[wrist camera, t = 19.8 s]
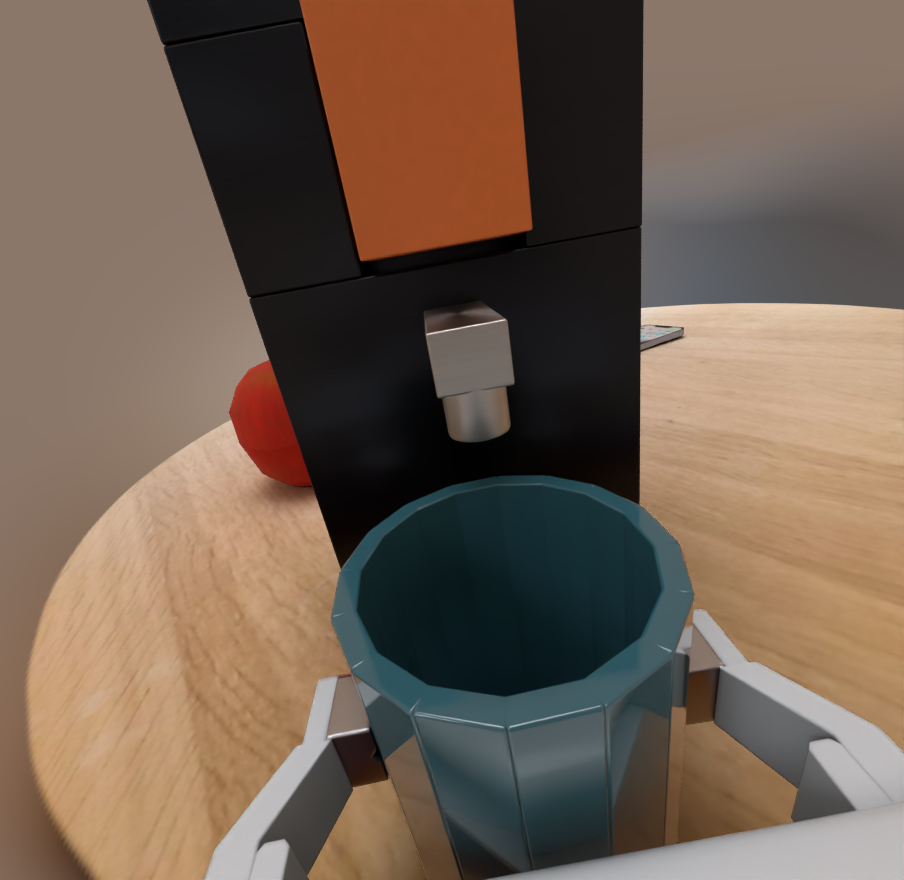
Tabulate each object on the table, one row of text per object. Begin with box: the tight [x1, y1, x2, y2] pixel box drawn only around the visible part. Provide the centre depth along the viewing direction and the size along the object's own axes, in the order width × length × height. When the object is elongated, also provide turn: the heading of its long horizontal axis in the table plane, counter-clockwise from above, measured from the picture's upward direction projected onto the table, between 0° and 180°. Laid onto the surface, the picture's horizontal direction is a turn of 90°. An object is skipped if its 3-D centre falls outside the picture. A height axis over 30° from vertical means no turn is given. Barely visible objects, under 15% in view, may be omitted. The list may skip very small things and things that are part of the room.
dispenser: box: [147, 0, 643, 569], centre depth 17 cm, size 14×12×24 cm
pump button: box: [299, 0, 532, 261], centre depth 11 cm, size 3×4×5 cm
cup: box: [331, 475, 694, 880], centre depth 11 cm, size 7×7×9 cm
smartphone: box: [641, 325, 684, 350], centre depth 61 cm, size 7×1×15 cm
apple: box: [229, 360, 312, 487], centre depth 37 cm, size 10×10×12 cm
